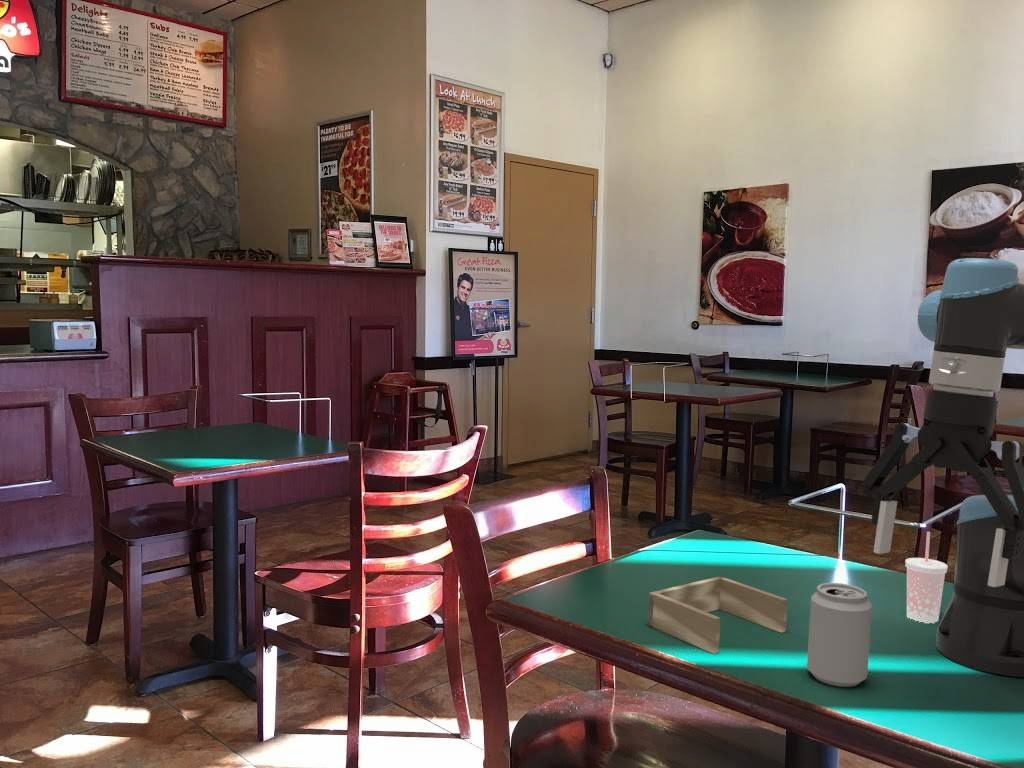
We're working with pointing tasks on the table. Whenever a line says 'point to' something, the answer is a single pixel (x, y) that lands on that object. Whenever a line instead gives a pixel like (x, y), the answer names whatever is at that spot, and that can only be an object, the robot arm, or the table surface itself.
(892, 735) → the table surface
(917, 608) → the beverage cup
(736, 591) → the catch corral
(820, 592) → the can
